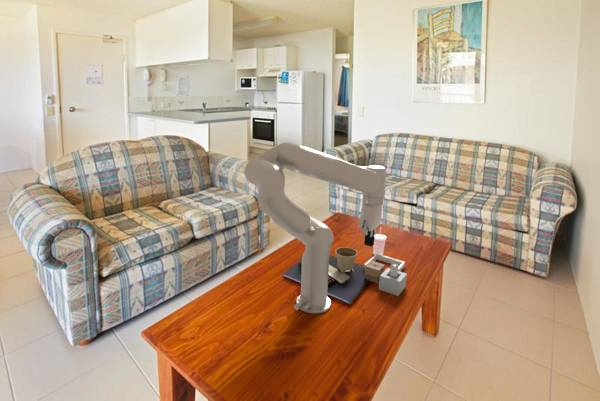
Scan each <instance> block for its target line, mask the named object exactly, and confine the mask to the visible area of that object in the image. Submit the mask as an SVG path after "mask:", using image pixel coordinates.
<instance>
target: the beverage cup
mask: <svg viewBox="0 0 600 401" xmlns="http://www.w3.org/2000/svg"><path fill="white" fill-rule="evenodd" d="M379 226H380V225H379ZM373 236H375V237H374V245H373V246H372V247H373V249H372V254H373V256H374V255H376V254H379V255H383V256H384V251H385V245H386V240H387V236H386V235H384V234H382V226H380V227H379V233H375V235H373Z"/></svg>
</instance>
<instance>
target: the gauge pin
mask: <svg viewBox="0 0 600 401" xmlns="http://www.w3.org/2000/svg"><path fill="white" fill-rule="evenodd" d="M398 268H399V266H398V265H397V264H390V277H393V278H396V279H397V276H398Z"/></svg>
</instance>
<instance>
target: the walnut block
mask: <svg viewBox="0 0 600 401" xmlns="http://www.w3.org/2000/svg"><path fill="white" fill-rule="evenodd" d="M385 266H386V264H383V263H380V262H376V261H375V262H374V261H371V262H370V263H368V264H367V265H366V266H365V269H364V276H365V277H368V278H369V279H370V281H369V282H373V283H375V284H379V280H380V275H381V274H382V273H383V272H384V271H385V270H386V268H385Z"/></svg>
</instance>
